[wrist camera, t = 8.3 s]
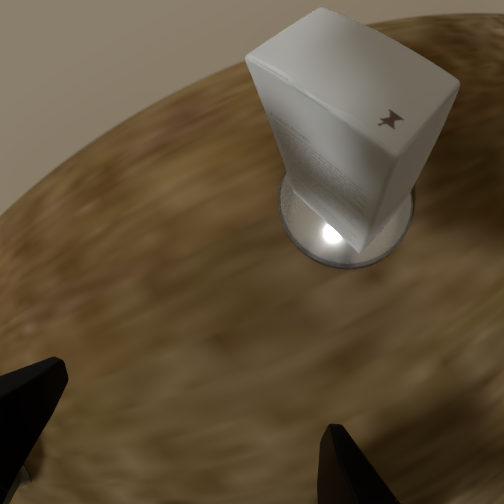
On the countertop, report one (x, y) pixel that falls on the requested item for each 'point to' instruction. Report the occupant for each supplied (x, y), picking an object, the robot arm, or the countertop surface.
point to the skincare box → (350, 117)
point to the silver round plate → (328, 240)
